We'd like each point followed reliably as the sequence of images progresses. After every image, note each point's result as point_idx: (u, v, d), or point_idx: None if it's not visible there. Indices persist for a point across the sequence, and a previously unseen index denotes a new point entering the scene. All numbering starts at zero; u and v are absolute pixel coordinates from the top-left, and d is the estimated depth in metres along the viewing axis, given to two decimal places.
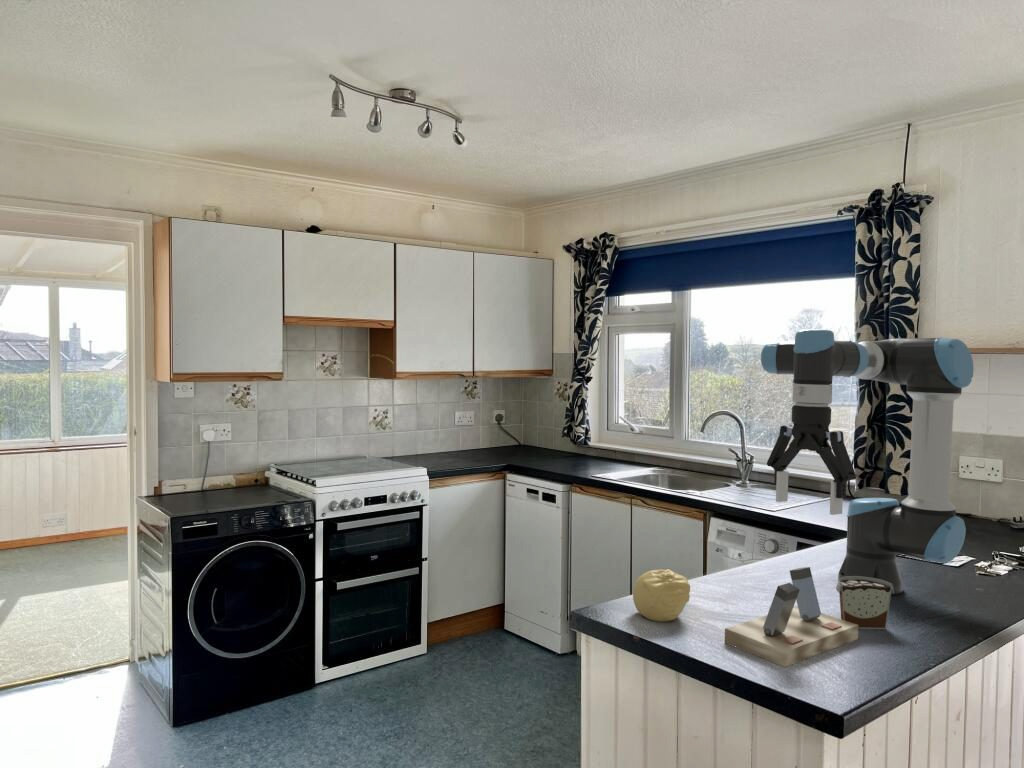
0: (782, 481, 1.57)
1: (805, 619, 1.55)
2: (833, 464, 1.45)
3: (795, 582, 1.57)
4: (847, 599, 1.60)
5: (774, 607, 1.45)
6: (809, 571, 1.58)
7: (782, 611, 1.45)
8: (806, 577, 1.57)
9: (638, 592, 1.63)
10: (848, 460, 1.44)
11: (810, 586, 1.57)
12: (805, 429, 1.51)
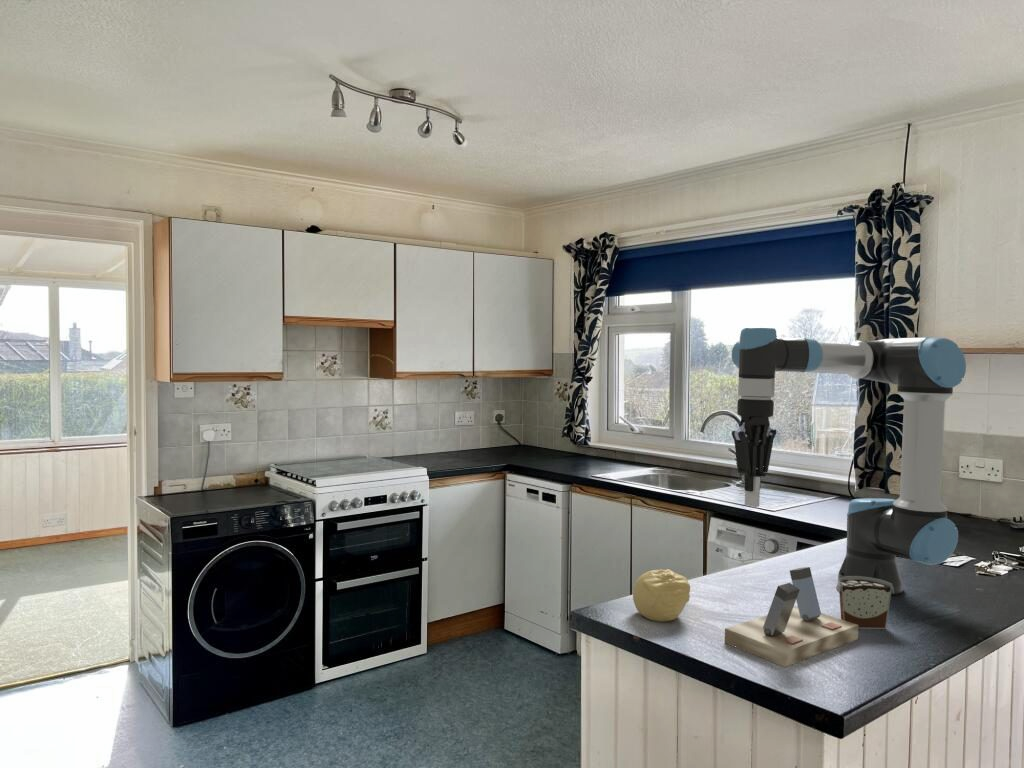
0: None
1: (805, 619, 1.55)
2: None
3: (795, 582, 1.57)
4: (847, 599, 1.60)
5: (774, 607, 1.45)
6: (809, 571, 1.58)
7: (782, 611, 1.45)
8: (806, 577, 1.57)
9: (638, 592, 1.63)
10: (743, 458, 1.57)
11: (810, 586, 1.57)
12: None
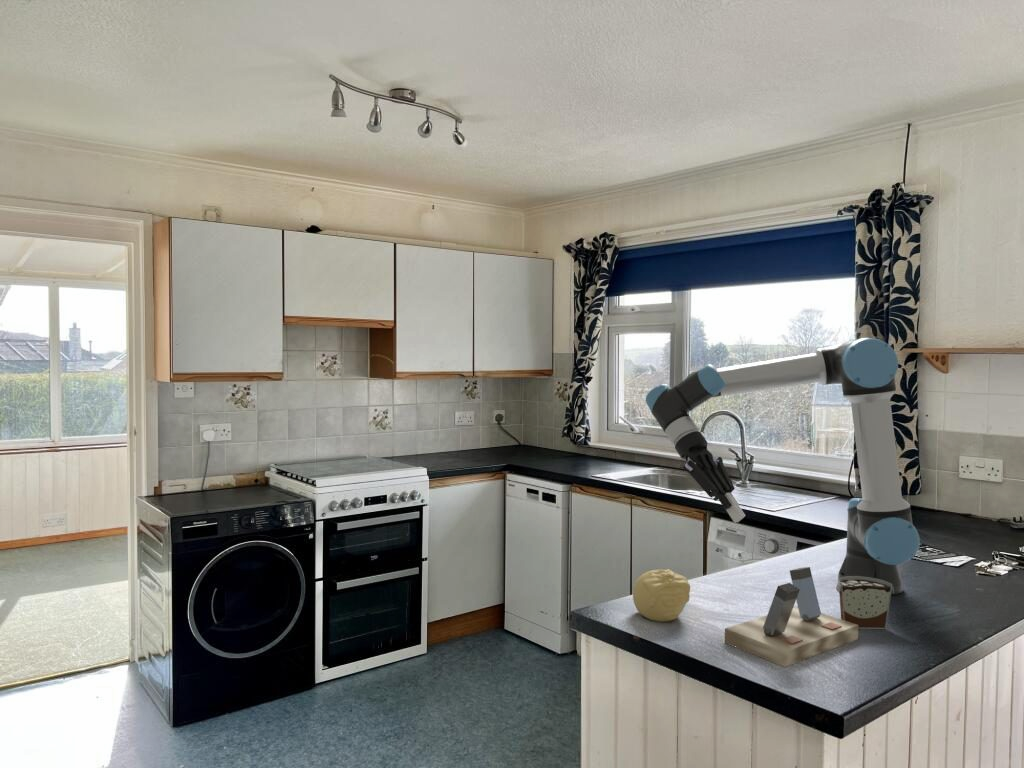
0: None
1: (805, 619, 1.55)
2: None
3: (795, 582, 1.57)
4: (847, 599, 1.60)
5: (774, 607, 1.45)
6: (809, 571, 1.58)
7: (782, 611, 1.45)
8: (806, 577, 1.57)
9: (638, 592, 1.63)
10: (704, 481, 1.73)
11: (810, 586, 1.57)
12: None
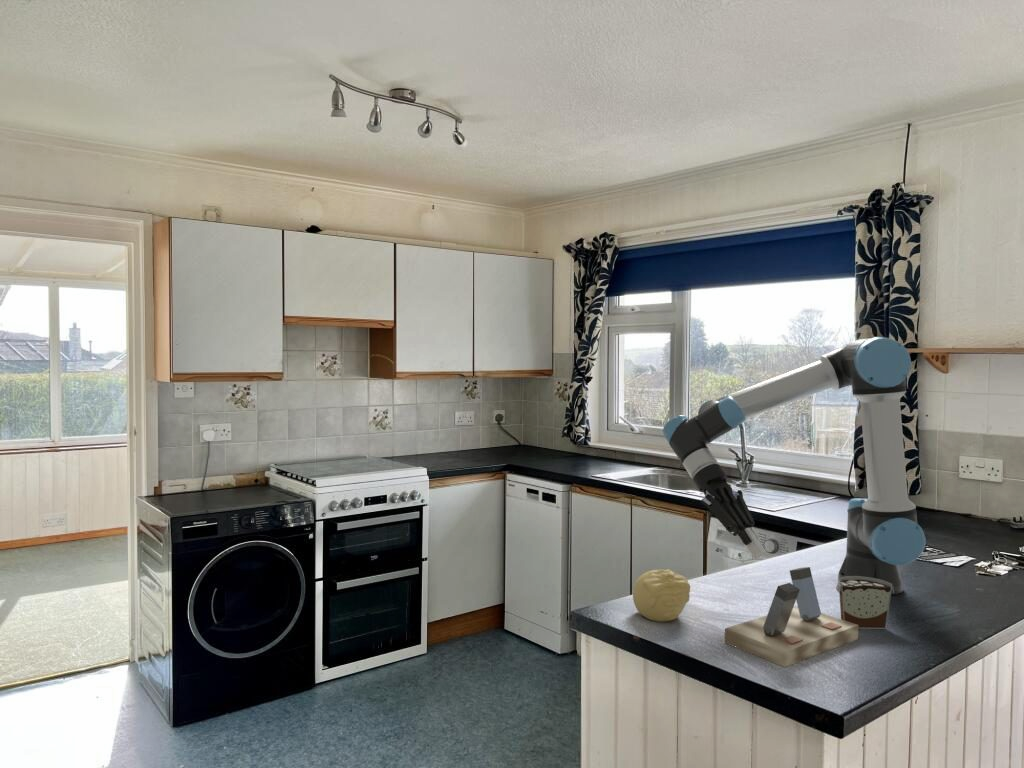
0: None
1: (805, 619, 1.55)
2: None
3: (795, 582, 1.57)
4: (847, 599, 1.60)
5: (774, 607, 1.45)
6: (809, 571, 1.58)
7: (782, 611, 1.45)
8: (806, 577, 1.57)
9: (638, 592, 1.63)
10: (723, 516, 1.69)
11: (810, 586, 1.57)
12: None
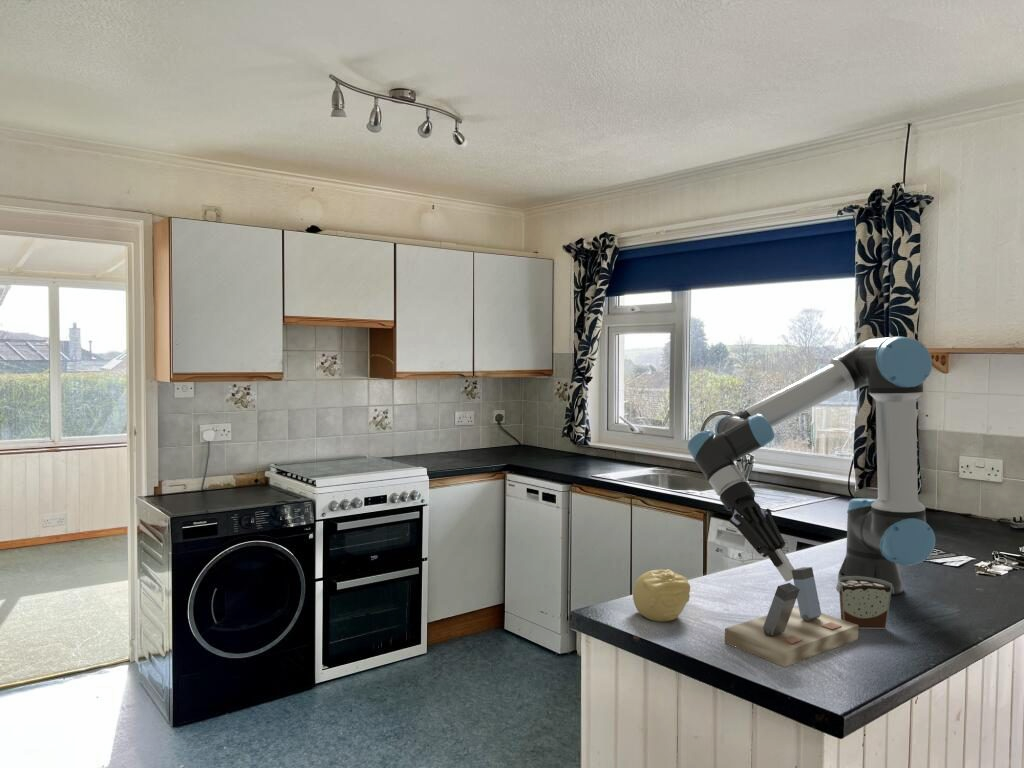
0: None
1: (805, 619, 1.55)
2: None
3: (797, 582, 1.57)
4: (847, 599, 1.60)
5: (774, 607, 1.45)
6: (811, 571, 1.58)
7: (782, 611, 1.45)
8: (808, 577, 1.57)
9: (638, 592, 1.63)
10: (753, 536, 1.63)
11: (812, 586, 1.57)
12: None
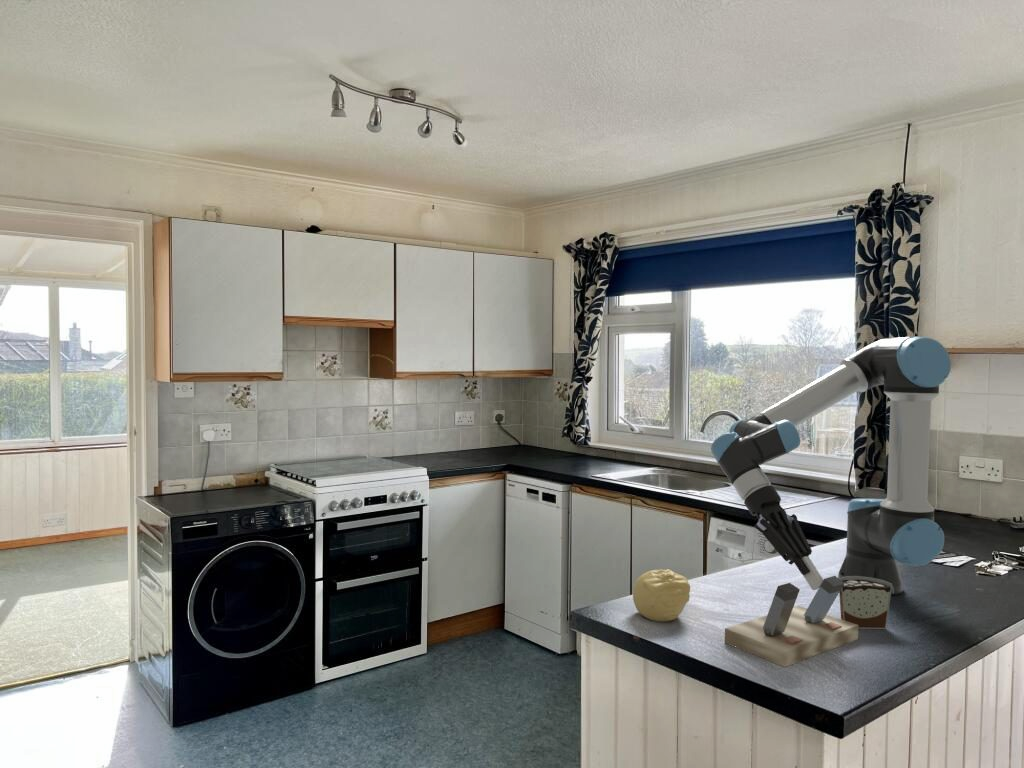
0: None
1: (807, 620, 1.55)
2: None
3: (821, 590, 1.52)
4: (847, 599, 1.60)
5: (774, 607, 1.45)
6: (841, 587, 1.53)
7: (782, 611, 1.45)
8: (834, 592, 1.52)
9: (638, 592, 1.63)
10: (779, 543, 1.57)
11: (832, 598, 1.53)
12: None
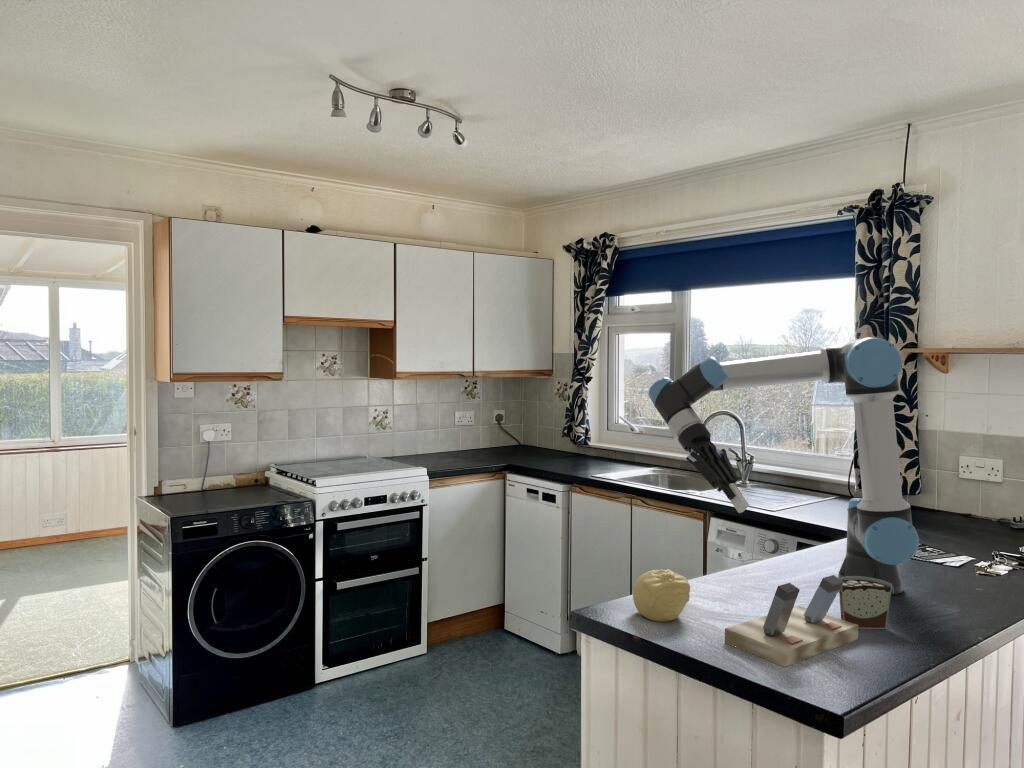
0: None
1: (807, 620, 1.55)
2: None
3: (821, 590, 1.52)
4: (847, 599, 1.60)
5: (774, 607, 1.45)
6: (840, 586, 1.53)
7: (782, 611, 1.45)
8: (834, 591, 1.52)
9: (638, 592, 1.63)
10: (708, 472, 1.73)
11: (832, 597, 1.53)
12: None
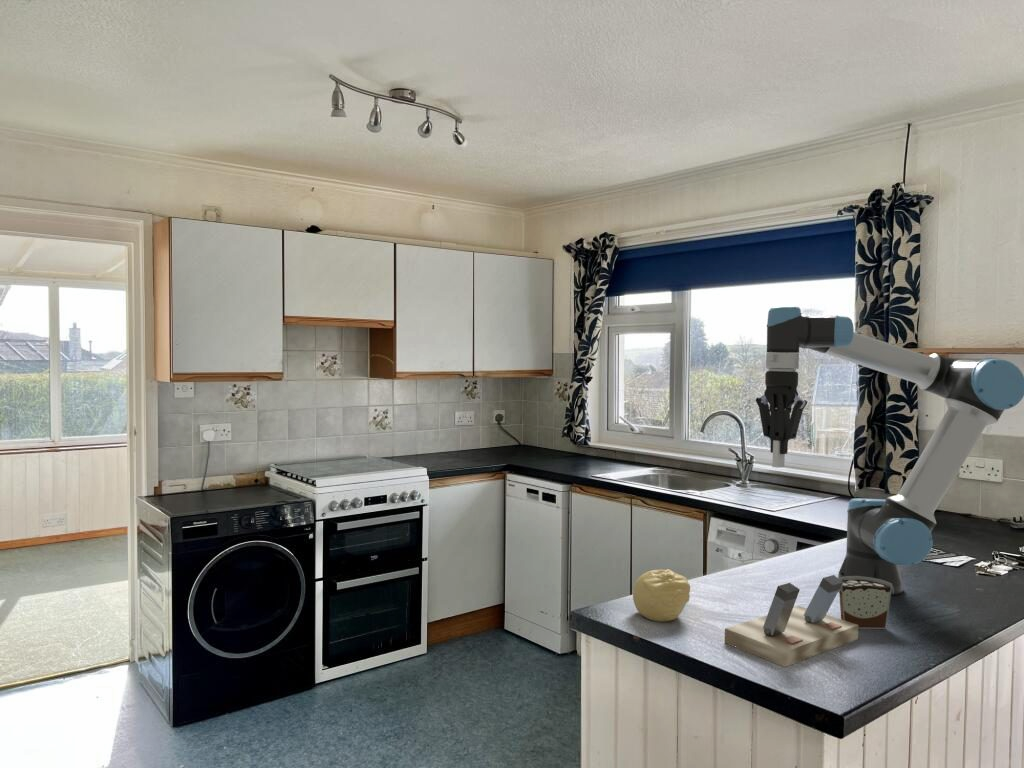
0: None
1: (807, 620, 1.55)
2: (785, 426, 1.77)
3: (821, 590, 1.52)
4: (847, 599, 1.60)
5: (774, 607, 1.45)
6: (840, 586, 1.53)
7: (782, 611, 1.45)
8: (834, 591, 1.52)
9: (638, 592, 1.63)
10: (797, 424, 1.75)
11: (832, 597, 1.53)
12: (777, 391, 1.78)
